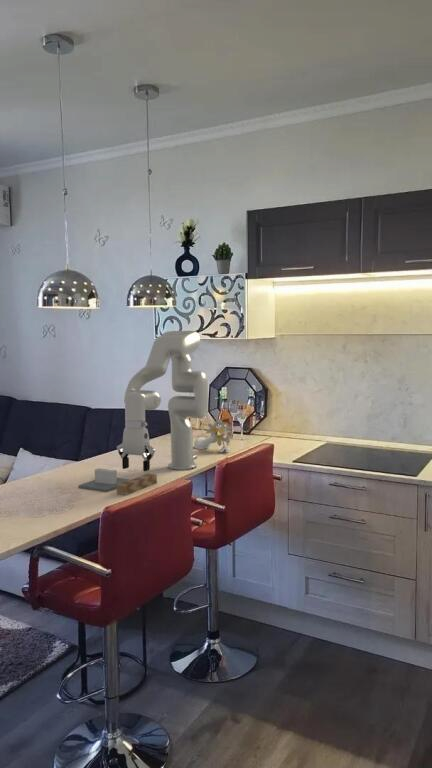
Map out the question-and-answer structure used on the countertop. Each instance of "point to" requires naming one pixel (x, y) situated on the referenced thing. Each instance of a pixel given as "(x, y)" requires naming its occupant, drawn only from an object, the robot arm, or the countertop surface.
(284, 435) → the countertop surface
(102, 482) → the slate board
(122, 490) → the walnut bar
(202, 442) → the flower vase
